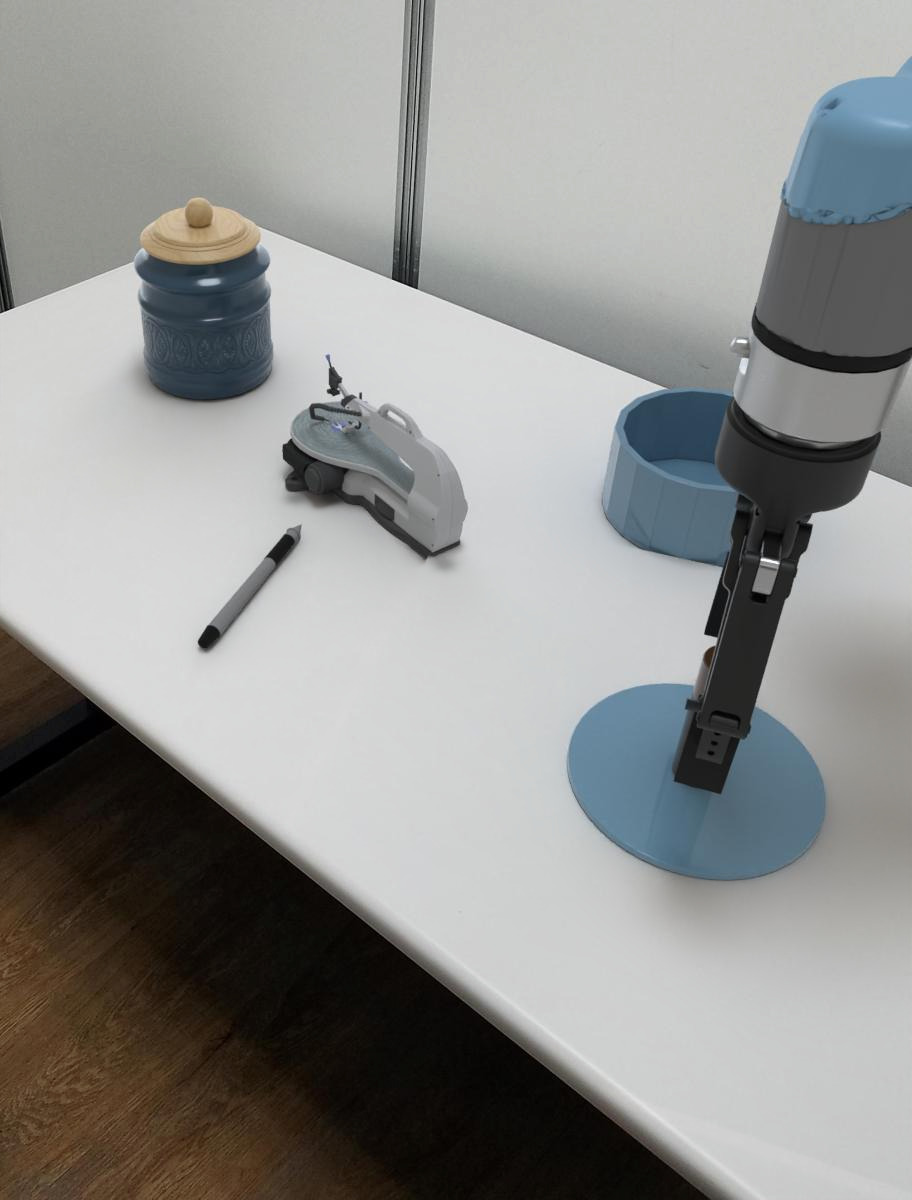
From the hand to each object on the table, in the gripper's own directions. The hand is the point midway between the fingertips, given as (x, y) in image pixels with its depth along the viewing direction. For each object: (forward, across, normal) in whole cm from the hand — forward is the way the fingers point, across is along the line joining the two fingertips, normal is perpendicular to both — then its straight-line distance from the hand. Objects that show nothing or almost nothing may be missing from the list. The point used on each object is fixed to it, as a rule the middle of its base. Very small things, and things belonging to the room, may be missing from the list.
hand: (712, 705), depth 74 cm
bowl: (+7, -31, -4) cm, 32 cm away
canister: (+8, -38, -53) cm, 66 cm away
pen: (+8, -8, -35) cm, 37 cm away
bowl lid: (+7, 0, 0) cm, 7 cm away
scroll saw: (+8, -23, -30) cm, 38 cm away
